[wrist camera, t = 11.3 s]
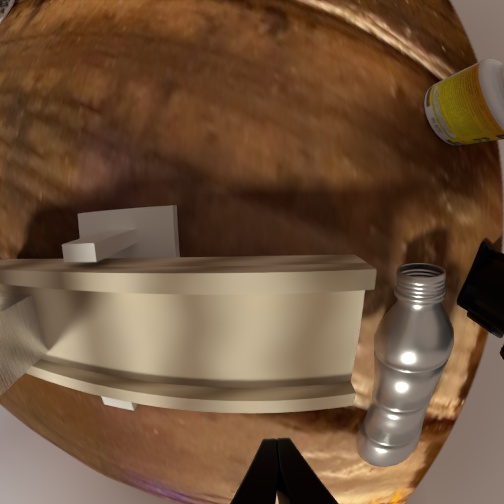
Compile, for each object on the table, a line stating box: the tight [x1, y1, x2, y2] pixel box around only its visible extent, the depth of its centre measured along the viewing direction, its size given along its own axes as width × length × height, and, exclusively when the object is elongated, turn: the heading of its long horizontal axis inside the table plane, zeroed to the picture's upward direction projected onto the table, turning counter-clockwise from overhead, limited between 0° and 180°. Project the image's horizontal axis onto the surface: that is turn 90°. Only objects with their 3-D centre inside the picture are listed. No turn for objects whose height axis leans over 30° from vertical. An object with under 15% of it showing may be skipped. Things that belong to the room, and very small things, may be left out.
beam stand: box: [62, 205, 180, 410], centre depth 17 cm, size 8×14×7 cm, turn 1°
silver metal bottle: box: [356, 263, 454, 467], centre depth 18 cm, size 6×7×20 cm
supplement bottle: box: [424, 58, 504, 146], centre depth 12 cm, size 6×6×10 cm
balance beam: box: [0, 254, 377, 413], centre depth 16 cm, size 30×8×6 cm, turn 91°
